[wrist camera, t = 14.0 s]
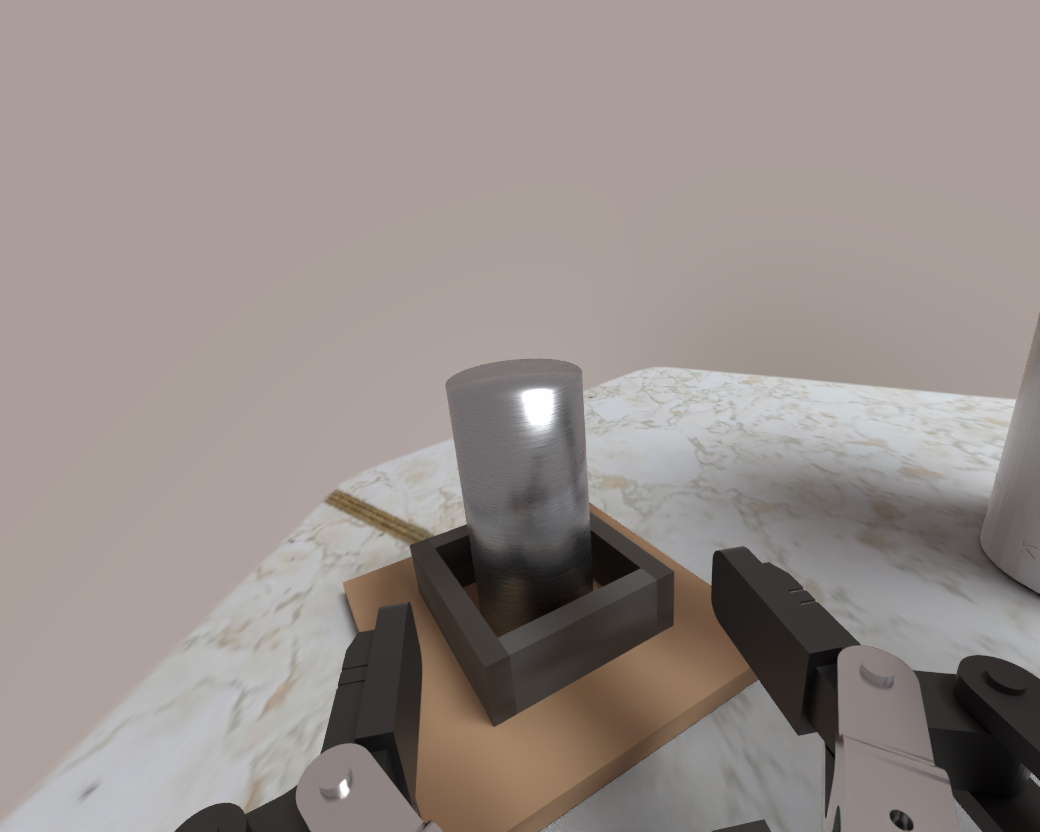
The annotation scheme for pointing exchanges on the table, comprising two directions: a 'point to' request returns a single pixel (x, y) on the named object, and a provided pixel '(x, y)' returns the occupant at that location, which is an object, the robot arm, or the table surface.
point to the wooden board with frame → (551, 678)
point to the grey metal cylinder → (523, 486)
